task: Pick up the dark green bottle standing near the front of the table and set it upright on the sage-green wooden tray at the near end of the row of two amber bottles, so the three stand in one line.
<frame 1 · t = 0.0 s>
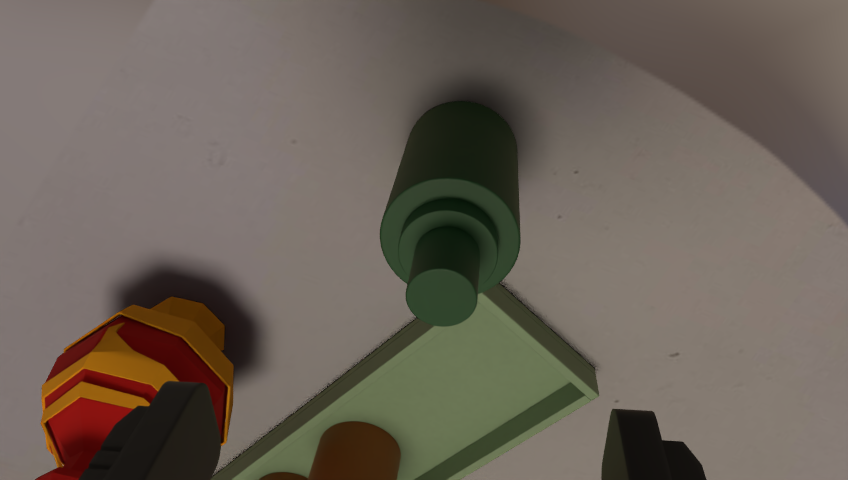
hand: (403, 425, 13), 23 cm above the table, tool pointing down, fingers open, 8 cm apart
amber bottle mid: (359, 450, 47), point 1 cm above the table, touching tray
tray: (380, 431, 46), on the table
potion bottle: (190, 329, 44), on the table
green bottle: (461, 153, 35), on the table
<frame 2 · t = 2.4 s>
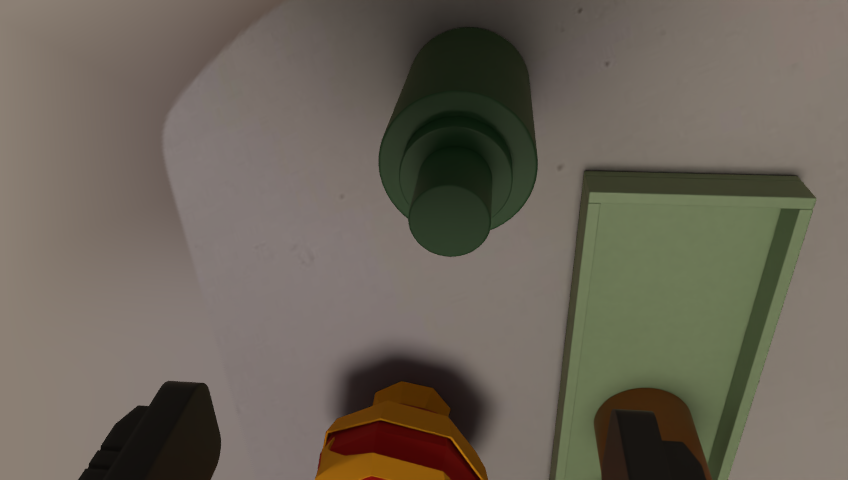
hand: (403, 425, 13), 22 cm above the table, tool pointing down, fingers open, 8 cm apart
amber bottle mid: (642, 422, 41), point 1 cm above the table, touching tray
tray: (645, 391, 41), on the table
potion bottle: (412, 409, 44), on the table
green bottle: (468, 88, 32), on the table
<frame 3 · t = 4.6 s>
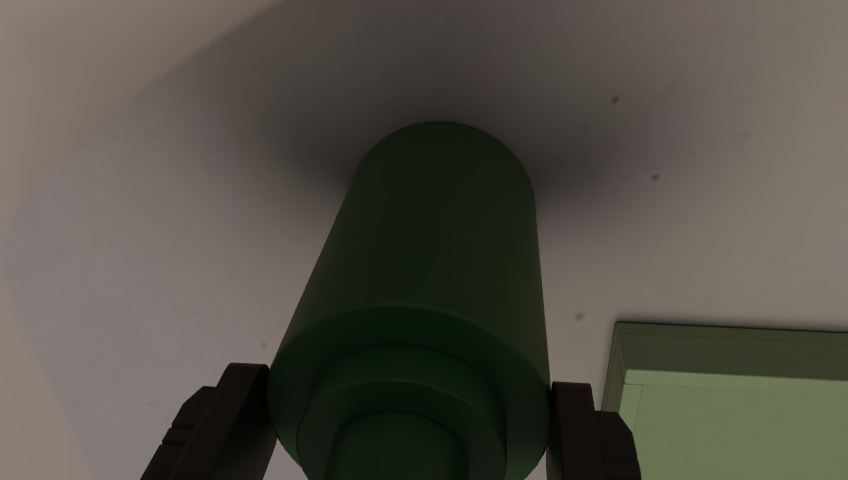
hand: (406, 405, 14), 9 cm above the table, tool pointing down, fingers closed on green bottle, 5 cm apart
green bottle: (441, 208, 21), on the table, touching gripper
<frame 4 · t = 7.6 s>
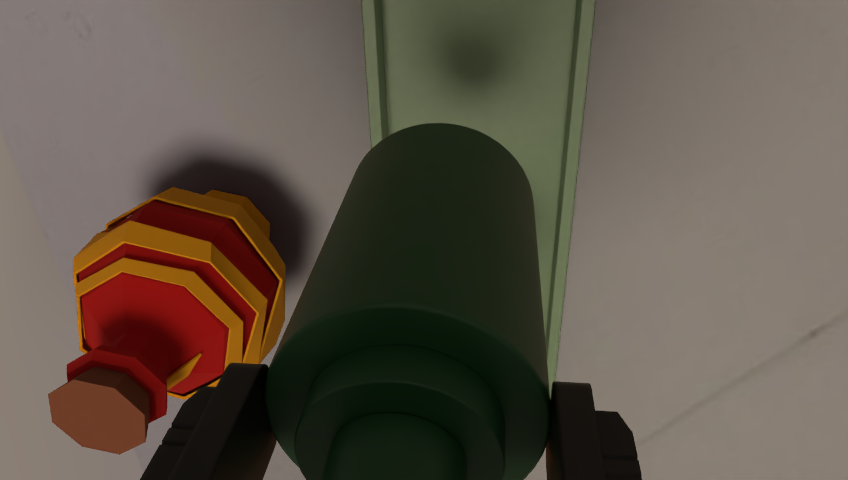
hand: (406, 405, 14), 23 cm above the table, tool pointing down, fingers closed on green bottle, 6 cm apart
tray: (474, 192, 37), on the table
potion bottle: (231, 227, 40), on the table
green bottle: (440, 208, 21), point 14 cm above the table, touching gripper
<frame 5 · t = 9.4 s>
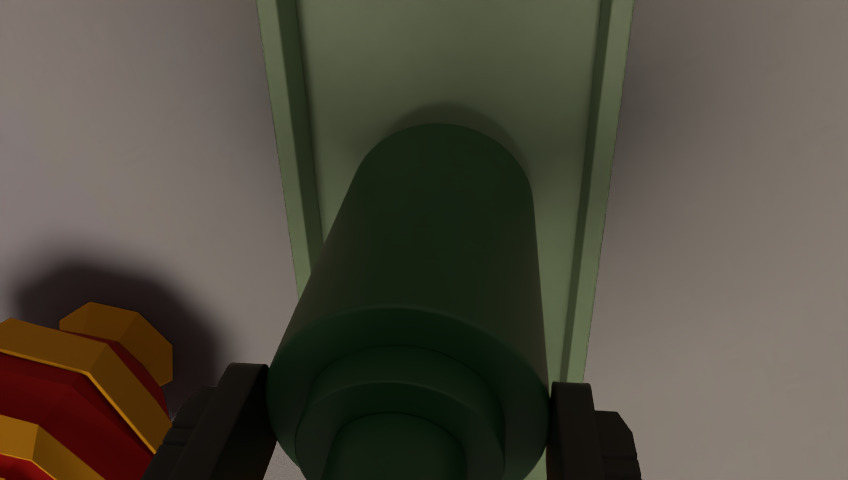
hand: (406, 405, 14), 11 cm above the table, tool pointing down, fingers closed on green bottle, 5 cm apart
tray: (447, 313, 26), on the table
potion bottle: (122, 348, 29), on the table
green bottle: (440, 209, 21), point 2 cm above the table, touching gripper
when the fingers open (9 cm above the table, at t = 10.6 s): green bottle stays where it is, resting on tray.
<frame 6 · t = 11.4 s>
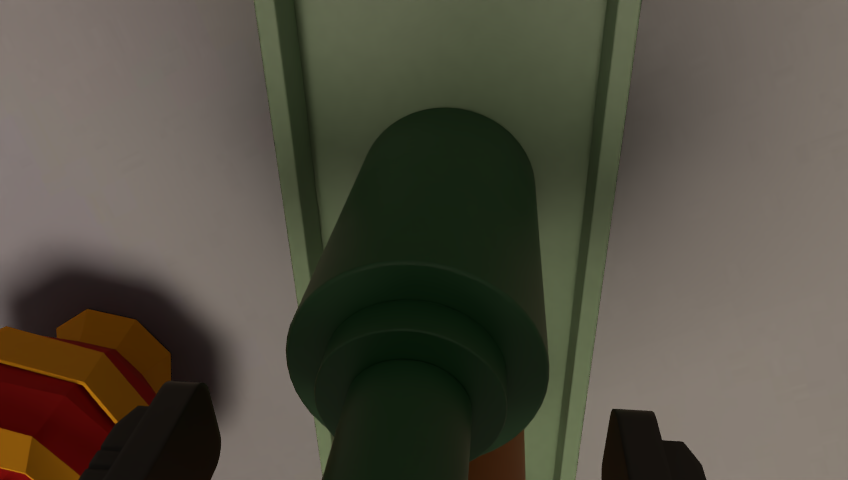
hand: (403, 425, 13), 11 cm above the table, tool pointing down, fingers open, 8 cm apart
amber bottle mid: (448, 371, 26), point 1 cm above the table, touching tray
tray: (449, 321, 26), on the table
potion bottle: (120, 355, 29), on the table
green bottle: (447, 190, 22), point 1 cm above the table, touching tray
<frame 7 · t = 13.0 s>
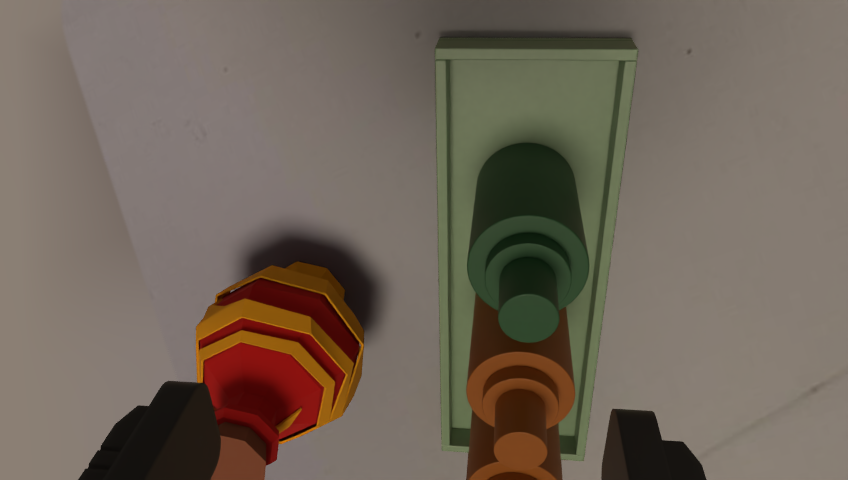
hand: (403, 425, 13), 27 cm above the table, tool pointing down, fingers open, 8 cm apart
amber bottle mid: (519, 298, 44), point 1 cm above the table, touching tray
tray: (521, 267, 43), on the table
potion bottle: (311, 292, 46), on the table
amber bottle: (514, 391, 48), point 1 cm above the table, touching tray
green bottle: (525, 188, 40), point 1 cm above the table, touching tray
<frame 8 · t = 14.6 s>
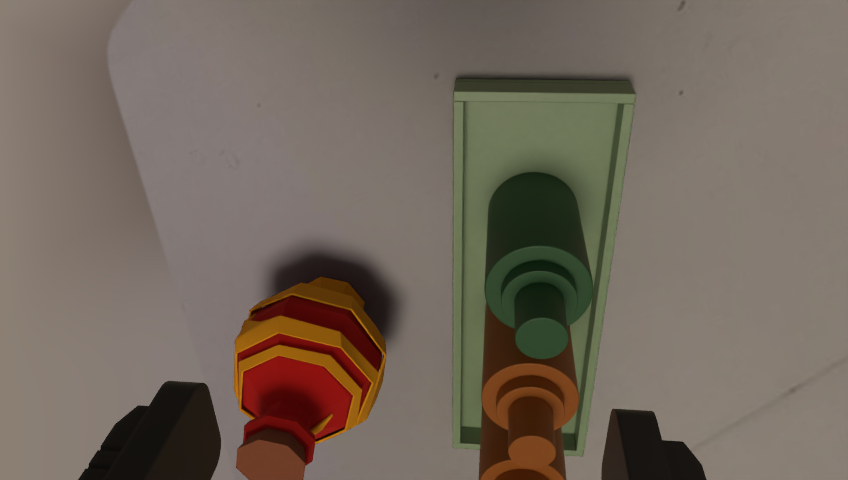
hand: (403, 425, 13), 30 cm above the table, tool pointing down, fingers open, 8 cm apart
amber bottle mid: (525, 310, 48), point 1 cm above the table, touching tray
tray: (527, 282, 47), on the table
potion bottle: (332, 304, 50), on the table
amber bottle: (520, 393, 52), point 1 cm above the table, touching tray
green bottle: (532, 212, 44), point 1 cm above the table, touching tray
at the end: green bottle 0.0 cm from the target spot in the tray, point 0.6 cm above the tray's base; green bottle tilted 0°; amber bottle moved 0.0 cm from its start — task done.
